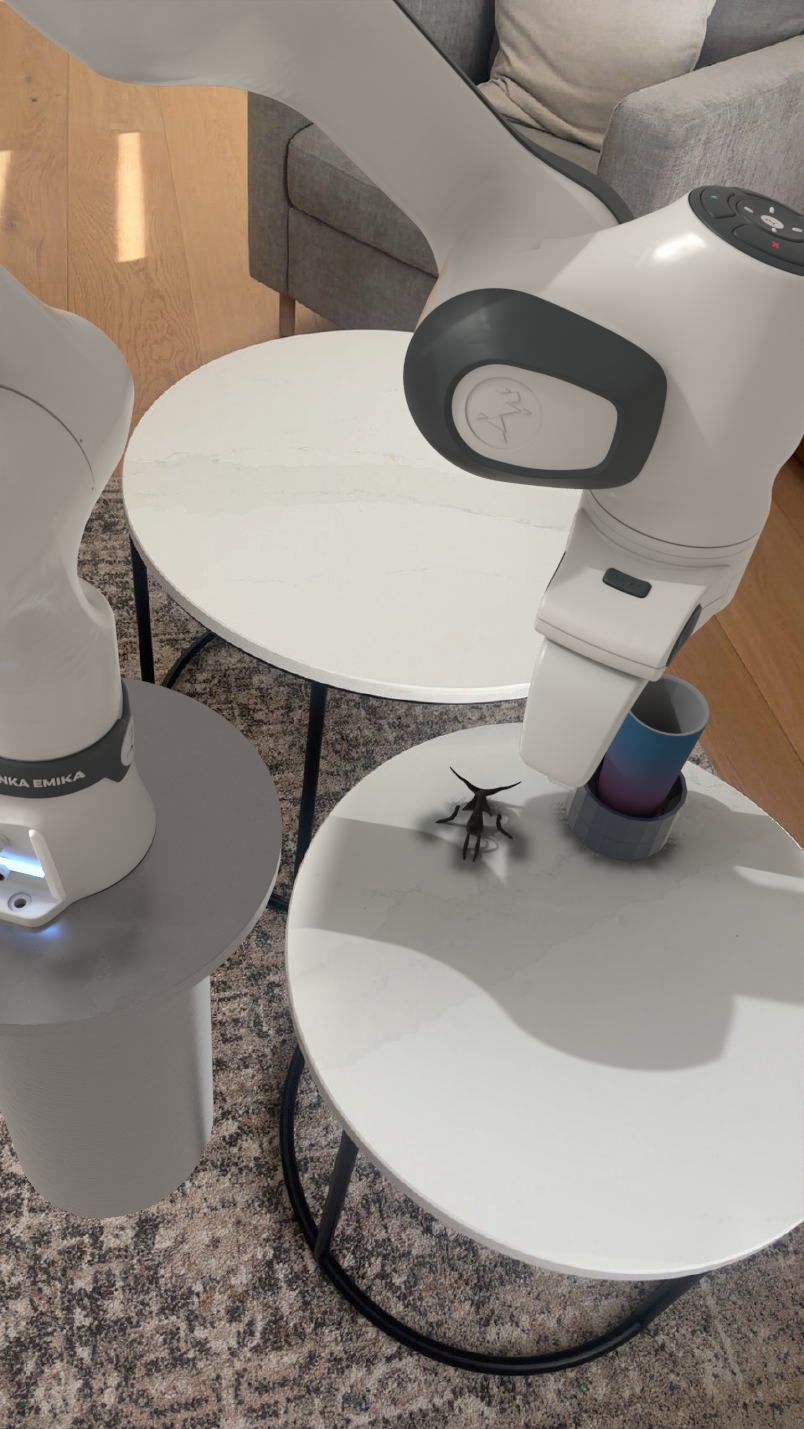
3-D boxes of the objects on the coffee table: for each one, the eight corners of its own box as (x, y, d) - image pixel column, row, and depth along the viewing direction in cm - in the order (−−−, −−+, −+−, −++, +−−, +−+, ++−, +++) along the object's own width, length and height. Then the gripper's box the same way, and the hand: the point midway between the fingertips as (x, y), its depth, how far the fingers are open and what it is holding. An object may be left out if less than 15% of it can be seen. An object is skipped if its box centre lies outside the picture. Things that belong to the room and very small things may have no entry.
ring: (566, 863, 92) (583, 815, 87) (559, 782, 98) (576, 733, 93) (671, 874, 92) (694, 826, 87) (657, 792, 98) (679, 744, 94)
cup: (639, 868, 91) (693, 749, 81) (566, 832, 93) (609, 710, 82) (666, 816, 96) (721, 696, 85) (595, 782, 98) (640, 660, 87)
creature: (510, 888, 90) (523, 804, 95) (521, 862, 86) (534, 775, 90) (418, 868, 91) (435, 786, 95) (424, 841, 86) (441, 756, 90)
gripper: (665, 430, 62) (606, 613, 72) (523, 624, 49) (474, 816, 59) (772, 469, 61) (696, 650, 71) (654, 681, 47) (581, 868, 57)
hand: (594, 727), depth 65 cm, fingers open, 8 cm apart
